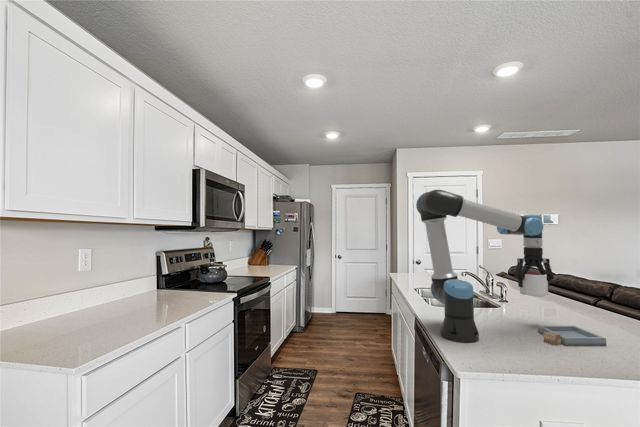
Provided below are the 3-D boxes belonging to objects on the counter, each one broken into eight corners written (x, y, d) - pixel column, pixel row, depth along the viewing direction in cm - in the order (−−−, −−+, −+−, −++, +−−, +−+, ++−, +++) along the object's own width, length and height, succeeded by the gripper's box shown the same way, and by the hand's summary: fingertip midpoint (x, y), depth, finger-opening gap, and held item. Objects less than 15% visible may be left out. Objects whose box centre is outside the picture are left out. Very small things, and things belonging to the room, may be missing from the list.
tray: (565, 345, 126) (565, 338, 126) (538, 332, 142) (538, 325, 142) (606, 345, 126) (605, 338, 126) (574, 332, 142) (574, 325, 142)
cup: (551, 297, 145) (550, 275, 145) (526, 296, 147) (526, 274, 147) (540, 293, 155) (540, 272, 155) (518, 292, 157) (517, 271, 157)
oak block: (553, 345, 127) (553, 335, 127) (543, 342, 130) (543, 332, 131) (560, 344, 128) (560, 334, 128) (550, 341, 132) (550, 331, 132)
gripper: (513, 247, 148) (514, 295, 147) (562, 247, 148) (564, 296, 147) (504, 246, 156) (505, 292, 155) (551, 246, 155) (552, 292, 154)
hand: (534, 294), depth 151 cm, fingers closed on cup, 10 cm apart
